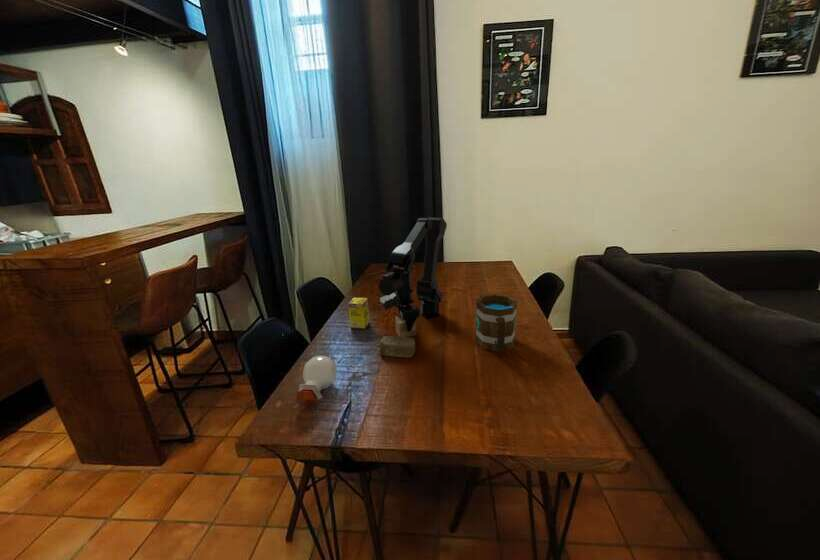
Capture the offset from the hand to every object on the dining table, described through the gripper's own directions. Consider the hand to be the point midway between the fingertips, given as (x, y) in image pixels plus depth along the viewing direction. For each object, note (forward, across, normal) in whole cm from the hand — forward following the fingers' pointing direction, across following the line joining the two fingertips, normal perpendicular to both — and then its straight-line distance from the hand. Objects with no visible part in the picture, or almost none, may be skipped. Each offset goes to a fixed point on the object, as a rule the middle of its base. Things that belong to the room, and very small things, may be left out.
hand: (405, 325), depth 127 cm
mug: (+3, +20, +26) cm, 33 cm away
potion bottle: (+3, +24, -32) cm, 41 cm away
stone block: (+4, +12, -6) cm, 14 cm away
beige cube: (+3, 0, 0) cm, 3 cm away
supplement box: (+3, -12, -15) cm, 20 cm away
